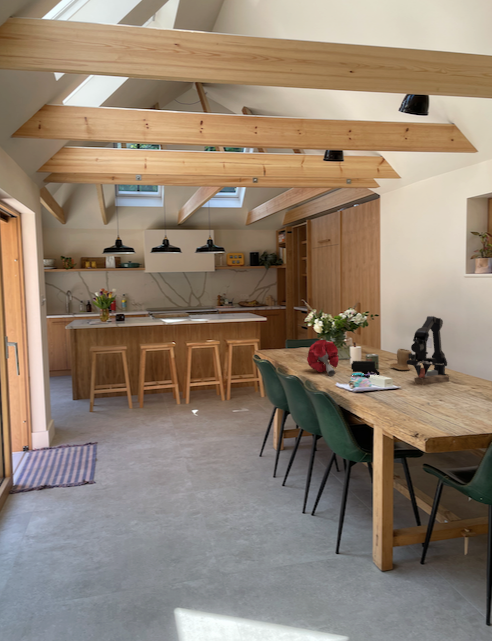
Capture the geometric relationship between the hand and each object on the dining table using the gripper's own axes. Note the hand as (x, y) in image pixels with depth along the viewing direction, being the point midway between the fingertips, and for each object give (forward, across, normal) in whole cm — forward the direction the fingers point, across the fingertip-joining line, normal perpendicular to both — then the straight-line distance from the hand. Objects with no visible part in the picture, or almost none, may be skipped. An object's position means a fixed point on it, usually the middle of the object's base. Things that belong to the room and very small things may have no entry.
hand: (421, 375), depth 316 cm
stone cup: (+5, -19, -43) cm, 48 cm away
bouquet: (+5, +36, -58) cm, 69 cm away
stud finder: (+5, -15, -10) cm, 19 cm away
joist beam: (+5, -8, 0) cm, 9 cm away
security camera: (+5, +18, -34) cm, 39 cm away
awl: (+5, 0, 0) cm, 5 cm away
